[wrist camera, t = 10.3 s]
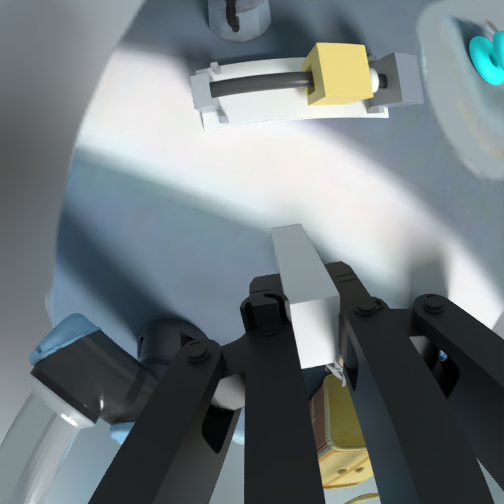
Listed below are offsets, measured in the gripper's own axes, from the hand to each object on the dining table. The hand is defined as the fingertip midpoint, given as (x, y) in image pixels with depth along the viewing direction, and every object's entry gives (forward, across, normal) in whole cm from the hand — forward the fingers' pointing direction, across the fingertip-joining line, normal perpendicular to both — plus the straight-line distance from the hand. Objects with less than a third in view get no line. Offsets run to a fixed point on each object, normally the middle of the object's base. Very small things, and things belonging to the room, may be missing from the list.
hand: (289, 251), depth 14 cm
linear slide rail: (+26, +7, +12) cm, 29 cm away
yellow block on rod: (+22, +10, +12) cm, 27 cm away
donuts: (+25, +46, +20) cm, 56 cm away
